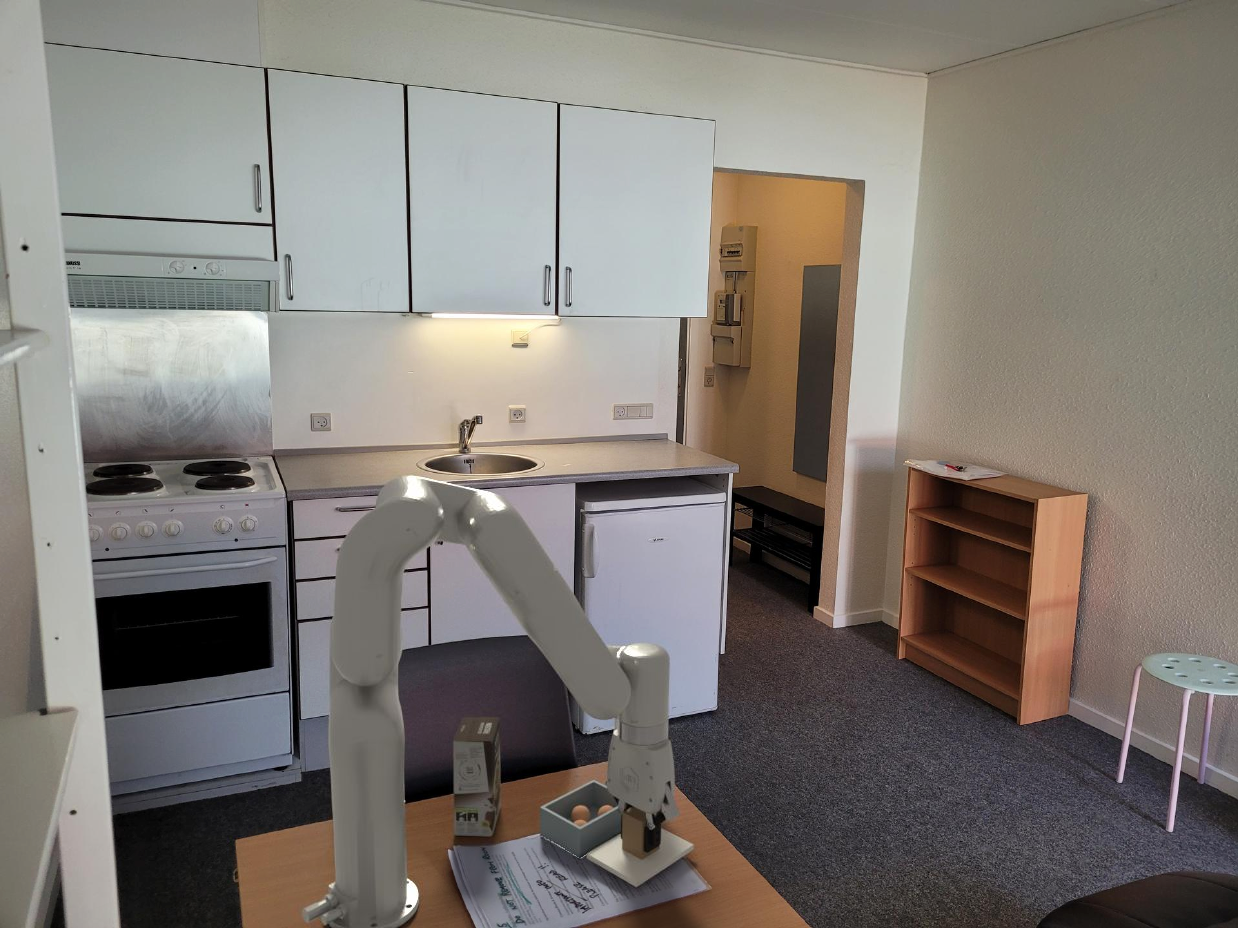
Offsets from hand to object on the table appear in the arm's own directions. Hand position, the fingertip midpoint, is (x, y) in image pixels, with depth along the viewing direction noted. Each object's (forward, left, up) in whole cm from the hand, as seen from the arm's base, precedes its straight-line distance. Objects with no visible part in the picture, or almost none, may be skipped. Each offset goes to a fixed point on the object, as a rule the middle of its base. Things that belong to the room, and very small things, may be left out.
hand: (640, 840), depth 139 cm
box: (0, +11, -3) cm, 12 cm away
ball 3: (+3, +10, -1) cm, 11 cm away
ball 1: (0, +13, -1) cm, 13 cm away
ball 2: (-3, +10, -1) cm, 10 cm away
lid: (0, 0, -2) cm, 2 cm away
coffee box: (-10, +26, -4) cm, 29 cm away
